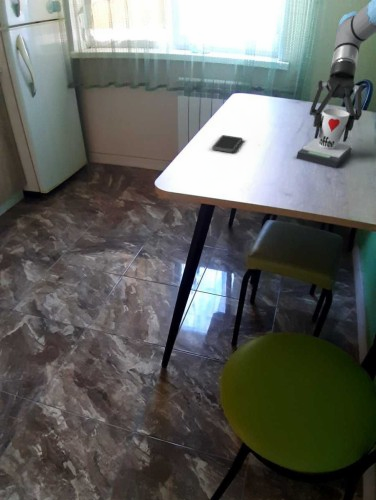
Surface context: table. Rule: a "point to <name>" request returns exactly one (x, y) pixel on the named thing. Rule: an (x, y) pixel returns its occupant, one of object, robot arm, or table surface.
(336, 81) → the robot arm
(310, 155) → the scale
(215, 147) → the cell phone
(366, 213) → the table surface
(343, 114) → the cup
